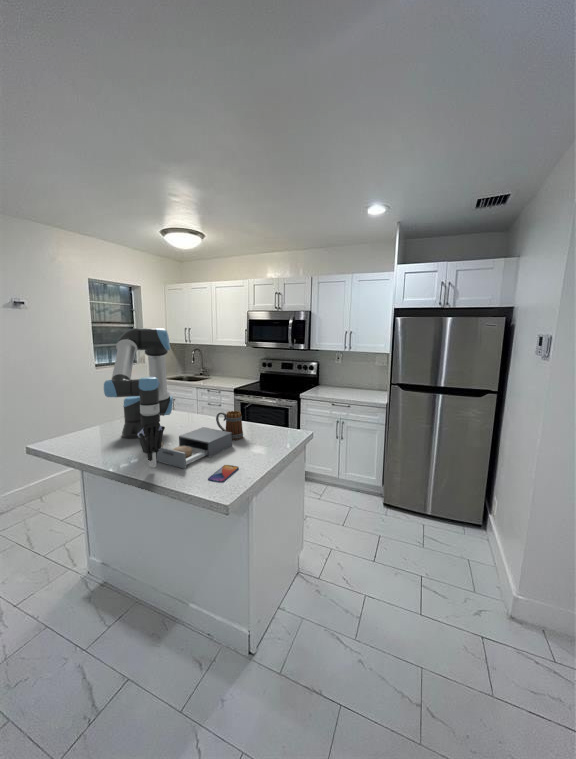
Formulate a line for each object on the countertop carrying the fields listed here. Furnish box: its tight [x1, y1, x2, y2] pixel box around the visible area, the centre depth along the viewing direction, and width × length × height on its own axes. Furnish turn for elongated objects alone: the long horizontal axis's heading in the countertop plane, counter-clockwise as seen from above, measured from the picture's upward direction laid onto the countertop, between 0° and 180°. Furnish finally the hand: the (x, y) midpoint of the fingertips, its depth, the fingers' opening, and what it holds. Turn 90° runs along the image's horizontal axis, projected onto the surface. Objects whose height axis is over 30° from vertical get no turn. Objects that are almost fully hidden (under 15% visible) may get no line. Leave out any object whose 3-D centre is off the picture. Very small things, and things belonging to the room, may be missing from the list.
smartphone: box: [207, 464, 240, 483], centre depth 137 cm, size 7×15×1 cm, turn 162°
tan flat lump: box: [171, 446, 192, 458], centre depth 152 cm, size 9×9×3 cm
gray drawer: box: [156, 445, 208, 469], centre depth 152 cm, size 17×20×7 cm
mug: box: [215, 410, 244, 441], centre depth 184 cm, size 16×11×15 cm
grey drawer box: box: [178, 426, 233, 458], centre depth 167 cm, size 18×20×8 cm
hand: (152, 466), depth 138 cm, fingers closed
